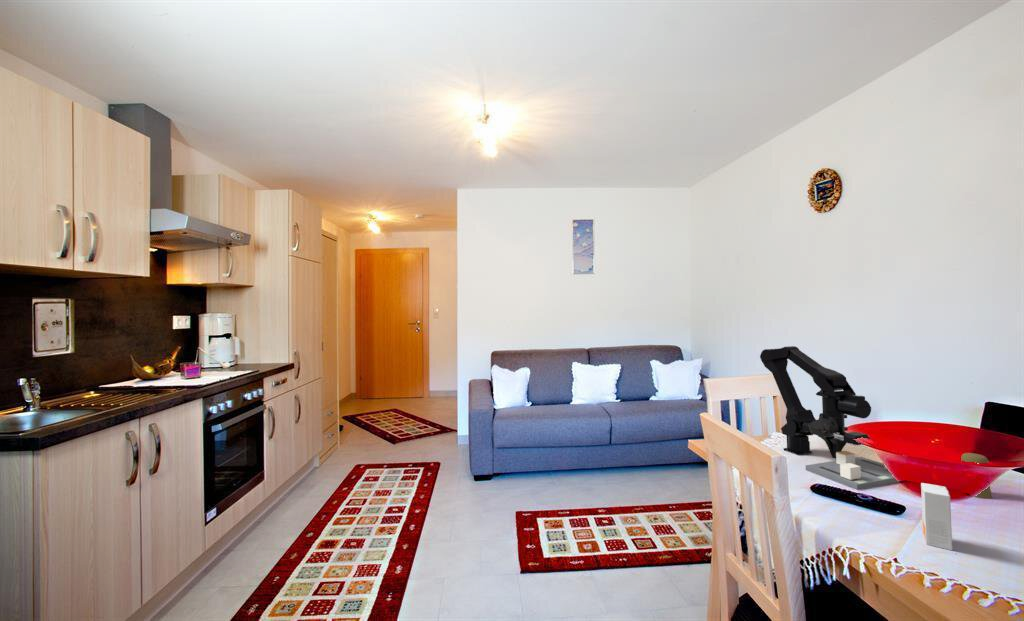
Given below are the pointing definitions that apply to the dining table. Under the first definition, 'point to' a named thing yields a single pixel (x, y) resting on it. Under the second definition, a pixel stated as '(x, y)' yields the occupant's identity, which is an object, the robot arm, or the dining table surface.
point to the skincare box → (936, 516)
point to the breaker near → (850, 471)
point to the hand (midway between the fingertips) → (834, 458)
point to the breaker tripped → (845, 457)
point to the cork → (978, 459)
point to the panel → (870, 473)
